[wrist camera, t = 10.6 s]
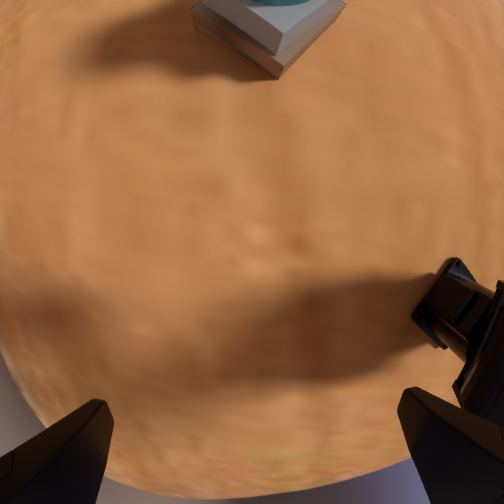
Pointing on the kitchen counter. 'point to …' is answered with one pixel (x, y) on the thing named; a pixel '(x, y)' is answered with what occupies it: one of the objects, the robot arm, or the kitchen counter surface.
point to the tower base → (253, 49)
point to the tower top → (273, 19)
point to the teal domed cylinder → (282, 2)
